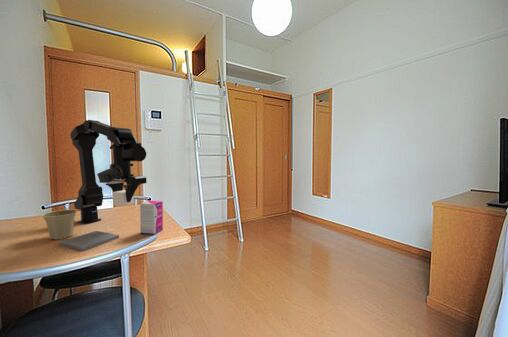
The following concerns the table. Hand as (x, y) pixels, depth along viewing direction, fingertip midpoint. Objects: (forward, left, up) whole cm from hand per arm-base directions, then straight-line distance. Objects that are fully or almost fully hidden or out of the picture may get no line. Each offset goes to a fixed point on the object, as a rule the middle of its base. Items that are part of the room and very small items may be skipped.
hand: (123, 201), depth 90 cm
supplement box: (+12, +2, -11) cm, 17 cm away
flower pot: (-14, -14, -11) cm, 23 cm away
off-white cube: (0, 0, -1) cm, 1 cm away
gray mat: (0, -13, -11) cm, 17 cm away
